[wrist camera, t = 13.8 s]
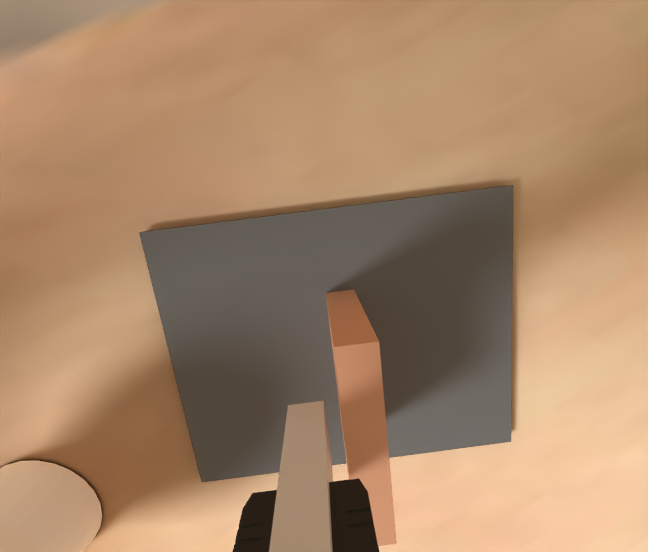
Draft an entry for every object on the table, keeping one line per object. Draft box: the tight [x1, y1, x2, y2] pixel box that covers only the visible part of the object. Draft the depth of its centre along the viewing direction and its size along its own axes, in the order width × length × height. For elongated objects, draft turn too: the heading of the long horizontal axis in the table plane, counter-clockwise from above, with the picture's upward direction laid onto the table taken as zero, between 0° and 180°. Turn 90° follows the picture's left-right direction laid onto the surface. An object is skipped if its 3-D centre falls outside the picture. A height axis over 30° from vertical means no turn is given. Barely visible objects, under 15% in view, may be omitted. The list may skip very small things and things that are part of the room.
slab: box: [326, 290, 396, 546], centre depth 16 cm, size 2×9×7 cm, turn 6°
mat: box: [139, 185, 513, 482], centre depth 19 cm, size 20×16×1 cm
